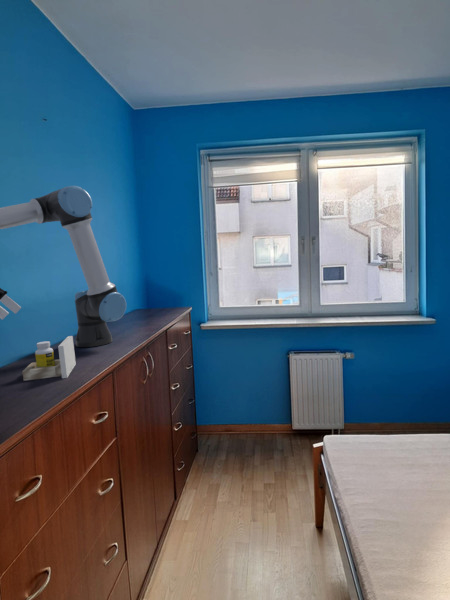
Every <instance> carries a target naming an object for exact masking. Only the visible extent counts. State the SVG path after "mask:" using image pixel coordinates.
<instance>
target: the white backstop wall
mask: <svg viewBox="0 0 450 600" xmlns="http://www.w3.org/2000/svg"><path fill="white" fill-rule="evenodd" d="M58 356H59V357H58V358H59V359H60V366H61V374H62V376H61V379H68V378H69V376H70V374H71V372H72V371H73V370H74V368H75V366H76V364H77V363H76V354H75V344H74V336H73V335H69V336H68V335H67V337H66V338H65V339H64V340H63V341H62V342H61V343H60V344H59V345H58Z"/></svg>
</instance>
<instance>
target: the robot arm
mask: <svg viewBox="0 0 450 600" xmlns="http://www.w3.org/2000/svg"><path fill="white" fill-rule="evenodd" d="M92 208H93V200H92V197H91V196H90V194H89V193H88V192H87V191H86V189H84V188H82V187H81V186H78V185H69V186H64V187H62V188H59V189H57V190H54V191H51V192H49V193H46V194H45V195H42V196H40V197H35V198H31V199H30V200H29V202H24V203H18V204H13V205H7V206H3V207H0V229H1V230H4V229H9V228H13V227H18V226H22V225H23V226H24V225H27V224H28V225H29V224H32V223H37V224H45V223H52V222H53V223H54V222H59V223H60V225H61V227H62V229H65V230H66V231H67V232H68V235H69V237H70V240H71V243H72V246H73V249H74V251H75V254H76V257H77V260H78V262H79V265H80V268H81V270H82V273H83V276H84V279H85V282H86V285H87V287H88V289H87V290H81V291H77V292H76V293H75V294H74V304H75V312H76V319H77V321H76V322H77V332H76V333H77V334H76V337H75V346H76V347H77V348H92V347H101V346H105V345H107V344H111V343H112V342H113V336H112V334H111V331H110V329H109V327H108V325H107V323H110V322H117V321H119V320H120V319H121V318H122V317H123V316H124V315H125V313H126V311H127V306H128V305H127V301H126V298H125V297H124V295H123V294H121V293H120V292H118V289H117V287H116V284H114V283H113V282H111V281H110V278H109V275H108V273H107V269H106V266H105V264H104V260H103V257H102V256H101V252H100V249H99V247H98V243H97V240H96V238H95V234H94V232H93V228H92V226H91V223H92V221H93V217H92V214H91V212H92ZM7 294H8V291H7V290H4V289H2V288H1V287H0V302H1V304H3V305H4V306H5V307H6V308H8V309H9V310H10V311H11V312H12V313H14V314H15V315H16V314H17V313H18V312H19V311H20V310H21V309H22V306H21V305H19V304H18V303H17V302H15V300H14V299H12V298H11V297H9V296H8V295H7ZM9 314H10V312H9V311H7V310H6V309H5V308H4V307H2V306H1V305H0V320H2V321H3V320H4V319H5V318H6V317H7V316H8V315H9Z"/></svg>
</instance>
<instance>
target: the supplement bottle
mask: <svg viewBox="0 0 450 600" xmlns="http://www.w3.org/2000/svg"><path fill="white" fill-rule="evenodd" d="M36 348H37V349H36V350H35V353H34V356H35V362H36V365H37V368H42V367H51V366H55V362H54V360H55V355H54V354H55V353H54V349H53V348H52V347H51V341H45V340H44V341H39V342H37V343H36Z"/></svg>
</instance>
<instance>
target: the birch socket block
mask: <svg viewBox="0 0 450 600" xmlns="http://www.w3.org/2000/svg"><path fill="white" fill-rule="evenodd" d="M54 362H55V366H51V367H42V368H37V365H36V361H35V362H34V361H33V362H31V363H30V364H28V365H27V366H26V367H25V368H24V369H23V370H22V379H23V381H32V380H40V379H49V378H57V377H62V374H61V366H60V358H59V359H54Z"/></svg>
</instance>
